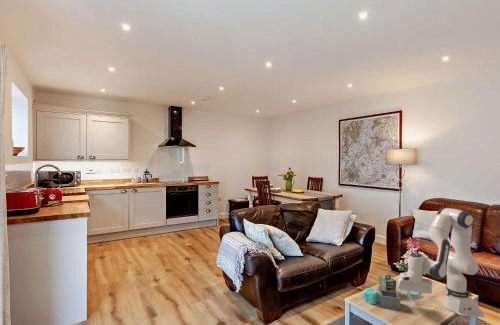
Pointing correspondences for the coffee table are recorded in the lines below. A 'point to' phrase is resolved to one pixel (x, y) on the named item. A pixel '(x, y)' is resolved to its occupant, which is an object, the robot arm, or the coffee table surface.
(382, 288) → the chalk box
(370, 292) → the decorative dice
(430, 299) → the coffee table surface
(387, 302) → the tub
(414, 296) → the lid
